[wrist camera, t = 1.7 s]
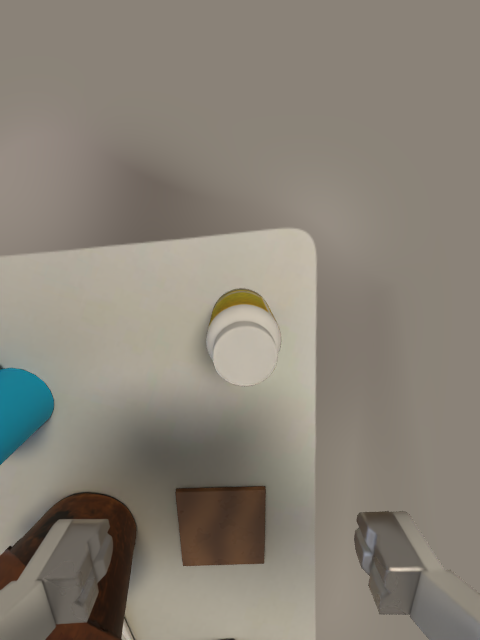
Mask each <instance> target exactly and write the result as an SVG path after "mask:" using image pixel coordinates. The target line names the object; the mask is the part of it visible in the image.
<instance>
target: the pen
mask: <svg viewBox="0 0 480 640" xmlns="http://www.w3.org/2000/svg"><path fill="white" fill-rule="evenodd" d="M122 632H123V634H124V636H125V638H126V640H134V639H133V637H132V635H131V632H130V630H129V628H128V626H127V623H126V621H125V619H124V622H123V629H122Z"/></svg>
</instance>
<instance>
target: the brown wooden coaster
mask: <svg viewBox="0 0 480 640" xmlns="http://www.w3.org/2000/svg"><path fill="white" fill-rule="evenodd" d="M175 493H176V503H177V512H178V522H179V532H180V541H181V551H182V561H183V566H200V565H233V564H264V551H265V498H266V489H265V486H258V487H219V488H181V489H176V492H175Z"/></svg>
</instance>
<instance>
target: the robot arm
mask: <svg viewBox="0 0 480 640" xmlns="http://www.w3.org/2000/svg"><path fill="white" fill-rule="evenodd" d="M357 523H358V525H359V528H358V529H357V530H356V531H355V538H354V541H355V549H356V553H357V556H358V559H359V562H360V565H361V567H362V569H363V570H364V571H365V572H366V573H367V574H368V575H369V576H370V579H369V585H368V586H369V588H370V591H371V593H372V595H373V599H374V601H375V604H376V606H377V609H378V611H379V614H403V615H404V614H405V615H406V614H407V615H408V614H409V615H410V617H411V619H412V620H413V621H414V622H415V623H416V625H417V626H418V627H419V628H420V629H421V631H422V632H423V633H424V634H425V635H426V636H427V637H428V639H429V640H480V593H478V592H477V591H476V590H474V589H473V588H472V587H471V586H470V585H468V584H467V583H466V582H465V581H463V580H462V579H461V578H460V577H459V576H457V575H456V574H455V573H454V572H452V571H451V570H445V569H444V567H443V566H442V564H441V562H440V561H439V559H438V558H437V556H436V555H435V553H434V552H433V550H432V548H431V547H430V545H429V544H428V543H427V541H426V539H425V538H424V536H423V535H422V533H421V531H420V530H419V528H418V527H417V525H416V524H415V522H414V521H413V519H412V517H411V516H410V515H409V514H408V513H407V512H404V511H399V512H389V511H385V512H363V513H362V512H361V513H359V514H358V515H357ZM109 528H110V525H109V521H108V519H59V520H58V521H57V522H56V523H55V524H54V525H53V526H52V527H51V529H50V530H49V532H48V534H47V535H46V537H45V538H44V540H43V541H42V543H41V544H40V546H39V547H38V549H37V551H36V552H35V554H34V555H33V557H32V558H31V560H30V561H29V563H28V564H27V566H26V568H25V569H24V571H23V572H22V574H21V575H20V577H19V578H18V580H17V581H11V582H10V583H9V584H8V585H6V586H5V587H4V588H3V589H2V590H0V640H45V639H46V638H47V637H48V636H49V635H50V633H51V632H52V631H53V630H54V629H55V627H56V624H68V623H84V622H87V621H88V618H89V616H90V613H91V611H92V608H93V606H94V603H95V601H96V598H97V596H98V593H99V591H98V585H97V583H98V582H99V581H100V580H101V579H102V578H103V577H104V576H105V575H106V573H107V570H108V567H109V565H110V561H111V557H112V552H113V540H112V537H111V536H110V535H109V534H108V533H107V532H108V530H109Z"/></svg>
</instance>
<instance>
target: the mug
mask: <svg viewBox="0 0 480 640" xmlns="http://www.w3.org/2000/svg"><path fill="white" fill-rule="evenodd" d="M53 410H54V400H53V397H52V394H51V391H50V390H49V388H48V387H47V386H46V384H45V383H44V382H43V381H42V380H41V379H39V378H38V377H37V376H36V375H34V374H32V373H30V372H27V371H25V370H21V369H15V368H7V369H0V465H1V464H2V463H3V462H4V461H5V460H6V459H7V458H8V457H9V456H10V455H11V454H12V453H13V452H14V451H15V450H16V449H18V448H19V447H20V446H21V445H22V444H23V443H24V442H25V441H26V440H27V439H28V438H29V437H30V436H31V435H32V434H33V433H34V432H35V431H36V430H37V429H38V428H39V427H40V426H42V425H43V424H44V423H45V422H46V421H47V420H48V419H49V418H50V416H51V414H52V412H53Z"/></svg>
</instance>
